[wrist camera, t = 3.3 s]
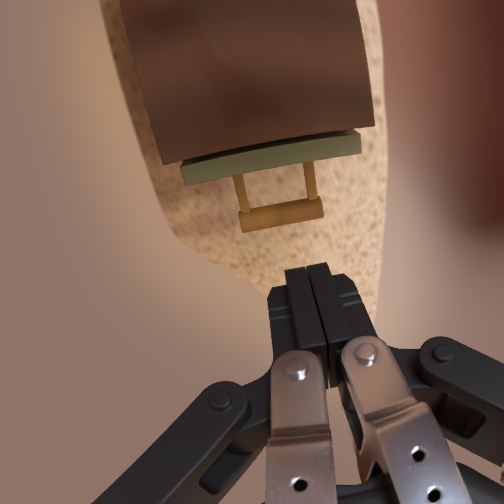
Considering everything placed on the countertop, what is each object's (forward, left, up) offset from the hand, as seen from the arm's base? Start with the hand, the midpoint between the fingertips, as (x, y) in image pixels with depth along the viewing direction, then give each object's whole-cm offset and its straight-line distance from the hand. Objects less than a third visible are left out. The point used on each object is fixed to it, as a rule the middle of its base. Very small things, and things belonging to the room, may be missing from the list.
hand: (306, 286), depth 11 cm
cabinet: (-8, +7, -16) cm, 19 cm away
